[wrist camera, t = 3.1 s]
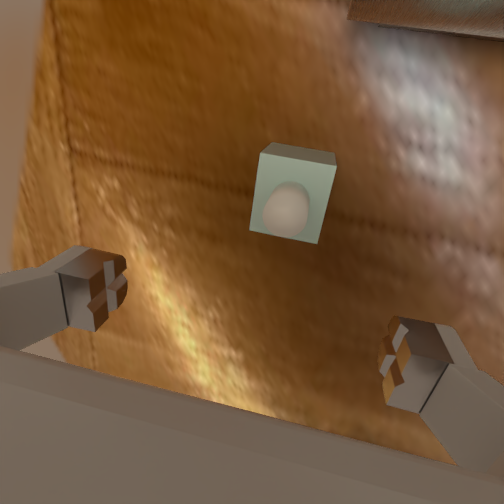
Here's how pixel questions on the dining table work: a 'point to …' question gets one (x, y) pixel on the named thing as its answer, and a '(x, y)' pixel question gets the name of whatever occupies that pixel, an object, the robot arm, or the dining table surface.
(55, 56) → the dining table surface
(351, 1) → the motor
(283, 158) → the block
